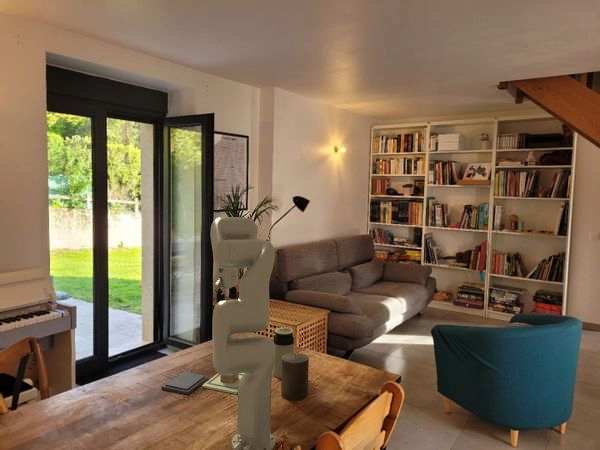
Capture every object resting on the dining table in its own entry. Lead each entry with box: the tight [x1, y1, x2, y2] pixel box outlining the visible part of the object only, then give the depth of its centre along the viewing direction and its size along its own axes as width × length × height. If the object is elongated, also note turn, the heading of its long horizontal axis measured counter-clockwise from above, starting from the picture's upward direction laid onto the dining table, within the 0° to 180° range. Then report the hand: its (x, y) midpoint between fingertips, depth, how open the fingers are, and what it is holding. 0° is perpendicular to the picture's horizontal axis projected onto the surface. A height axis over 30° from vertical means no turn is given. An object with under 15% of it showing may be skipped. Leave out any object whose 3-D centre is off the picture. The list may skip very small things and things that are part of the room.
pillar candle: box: [280, 352, 310, 402], centre depth 165 cm, size 10×10×15 cm
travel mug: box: [272, 326, 295, 379], centre depth 181 cm, size 8×8×18 cm
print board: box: [201, 373, 244, 395], centre depth 174 cm, size 16×14×1 cm
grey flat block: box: [161, 371, 210, 395], centre depth 171 cm, size 14×11×2 cm
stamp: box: [220, 373, 239, 384], centre depth 174 cm, size 5×5×8 cm
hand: (226, 301), depth 181 cm, fingers open, 9 cm apart
